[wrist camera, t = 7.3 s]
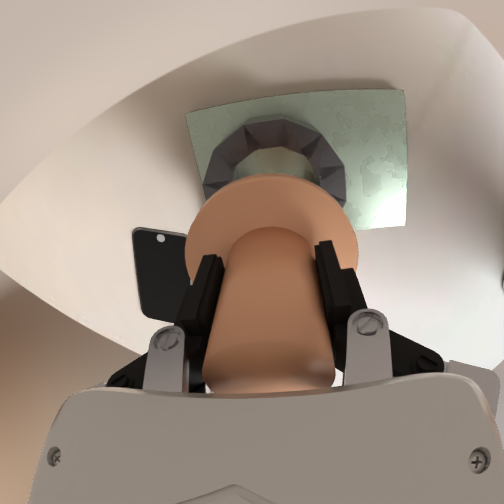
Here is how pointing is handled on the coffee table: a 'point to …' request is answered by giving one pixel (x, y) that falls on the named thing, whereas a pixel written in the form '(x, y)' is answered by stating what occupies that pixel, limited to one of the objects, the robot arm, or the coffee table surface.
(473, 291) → the coffee table surface
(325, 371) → the cap
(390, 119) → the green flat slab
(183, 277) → the smartphone
